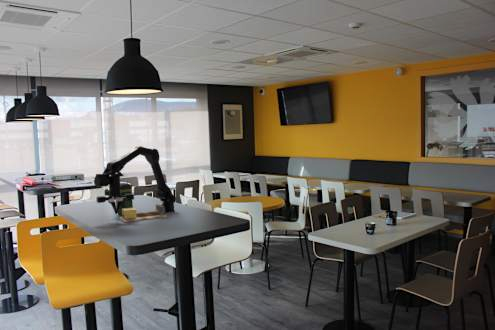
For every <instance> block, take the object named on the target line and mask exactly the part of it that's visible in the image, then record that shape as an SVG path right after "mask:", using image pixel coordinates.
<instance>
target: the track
mask: <svg viewBox="0 0 495 330" xmlns="http://www.w3.org/2000/svg"><path fill="white" fill-rule="evenodd" d="M161 218H163V219H164V218H167V215H166V212H165V206H162V204H158V203H157V204H155V210H154V211H153V210H151V211H143V212H136V218H129V219H125V218H124V215H121V216H120V217H119V220H121V221H122V222H124V223H130V222H138V221H145V220H154V219H161Z"/></svg>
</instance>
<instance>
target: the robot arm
mask: <svg viewBox="0 0 495 330" xmlns="http://www.w3.org/2000/svg"><path fill="white" fill-rule="evenodd" d="M138 156H144V158H145V160H146V161H147V162H148V163H149V164H150V168H151V170H152V173H153V175H154V178H155V182H156V184H157V189H156V190H155V193H156V195H157V197H158V198H159V200H160V202H162V203H161V205H162V206H165V213H173V212H175V211H176V210H175V202H176V200H177V197H176V196H175V195H174V194H173V192H172V190H171V188H170V187H169V186H168V184H167V183H166V181H165V180H166V179H165V177H164V175H163V171H162V168H161V166H160V158H161V157H160V151H159V150H158V149H156V148H147V147H144V146H140V145H139V146H135V147H134V148H133V149H131V150H130V151H128V152H127V153H125V154H124V155H122V156H121V157H120V158H117V159H113V160H111V161H109V162H108V163H107V164H106V168H105V169H104V171H103V172H102V173H96V174H95V177H94V180H93V183H94V186H95V187H96V188H100V187H102V188H103V187H108V189H107V188H105V189H104V195H100V196H99V195H98V196H96V203H97V204H98V203H99V204H100V203H101V204H102V203H105V202H107V203H108V204H110V205H111V207H112V209H113V212H114V214H115V215H118V210H119V207H120V205H121V203H122V202H123V199H128V200H132V201H133V200H135V195H134V194H133V193H132V194H125V195H124V196H121V187H120V183H121V177H124V175H125V174H123V173H122V172H121V171H122V170H123V169H124V167H125V166H126V165H127V164H128V163H129V162H131V161H133V160H134V159H135V158H137V157H138Z"/></svg>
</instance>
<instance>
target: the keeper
mask: <svg viewBox="0 0 495 330" xmlns="http://www.w3.org/2000/svg"><path fill="white" fill-rule="evenodd" d="M136 213H137V209H136V208H135V207H133V208H124V209H122V215H124V218H125V219H129V218H136ZM122 215H121V216H122Z"/></svg>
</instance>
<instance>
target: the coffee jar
mask: <svg viewBox="0 0 495 330" xmlns="http://www.w3.org/2000/svg"><path fill="white" fill-rule="evenodd" d="M132 186H133V185H132V184H130V183H127V182H120V187H121V196H124V195H125V194H133V187H132ZM124 208H134V205H133V200H128V199H123V202H122V203H121V205H120V207H119V210H118V213H117V215H121V216H122V209H124Z"/></svg>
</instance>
